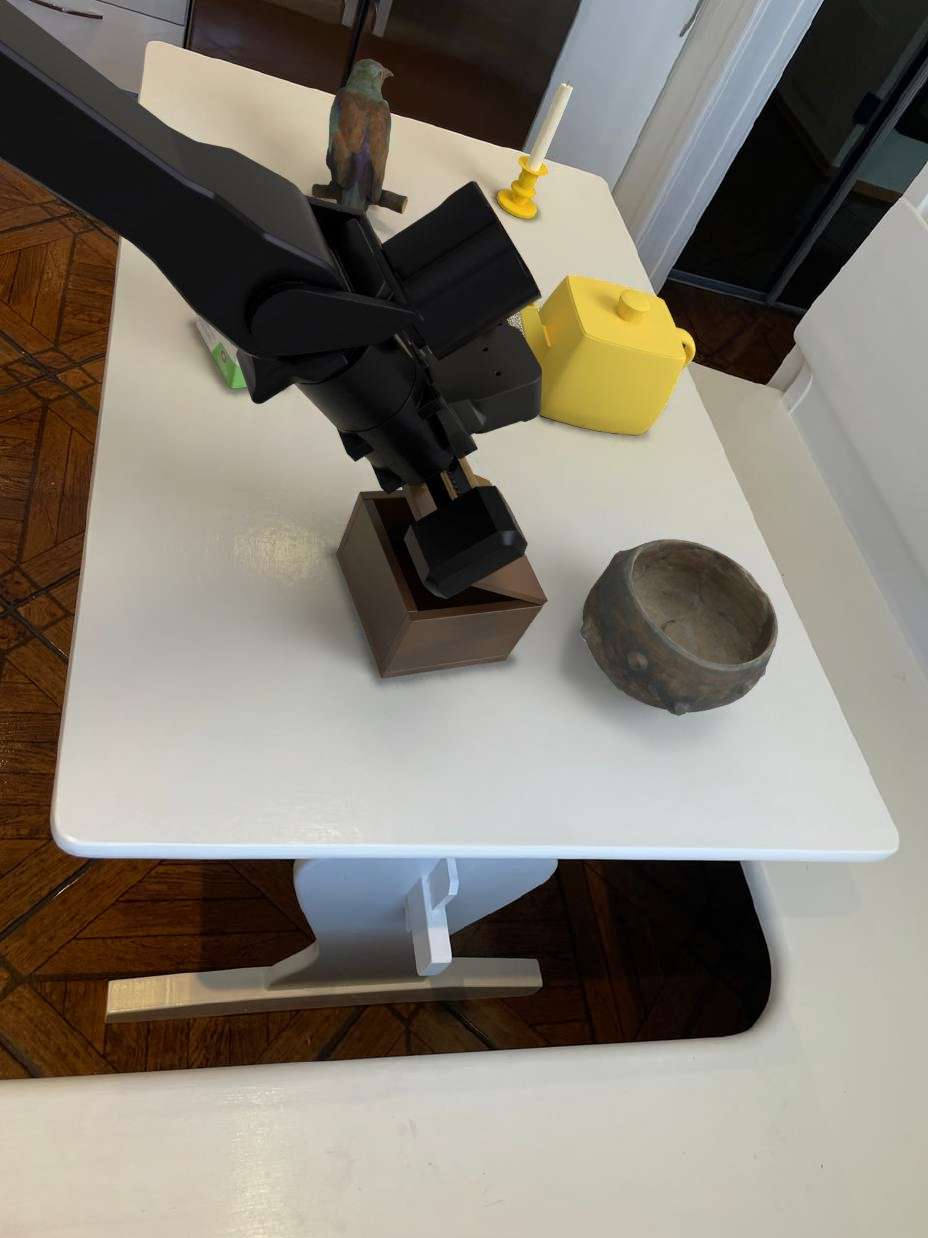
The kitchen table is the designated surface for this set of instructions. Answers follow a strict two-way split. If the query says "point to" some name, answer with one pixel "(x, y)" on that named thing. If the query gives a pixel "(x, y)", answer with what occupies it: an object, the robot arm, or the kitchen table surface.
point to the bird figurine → (360, 142)
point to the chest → (419, 599)
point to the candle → (534, 162)
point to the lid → (506, 580)
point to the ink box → (222, 354)
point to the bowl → (679, 626)
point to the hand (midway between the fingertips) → (473, 508)
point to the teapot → (605, 355)
